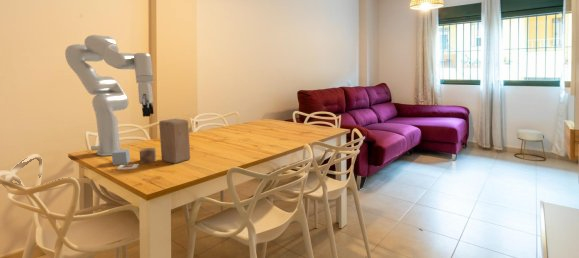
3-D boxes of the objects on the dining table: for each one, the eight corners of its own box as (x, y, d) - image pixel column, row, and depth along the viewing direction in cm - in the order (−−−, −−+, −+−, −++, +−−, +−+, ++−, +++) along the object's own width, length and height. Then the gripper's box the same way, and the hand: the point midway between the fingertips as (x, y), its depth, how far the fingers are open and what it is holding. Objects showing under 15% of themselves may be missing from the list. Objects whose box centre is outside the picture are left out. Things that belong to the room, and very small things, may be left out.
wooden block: (174, 164, 152) (171, 122, 148) (161, 161, 157) (158, 120, 154) (191, 159, 160) (189, 119, 157) (177, 156, 166) (175, 118, 162)
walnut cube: (140, 163, 153) (139, 151, 152) (143, 160, 159) (142, 148, 158) (153, 162, 155) (153, 150, 154) (156, 159, 160) (155, 147, 159)
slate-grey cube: (112, 165, 151) (111, 152, 150) (116, 161, 157) (115, 149, 156) (126, 164, 152) (125, 152, 151) (130, 161, 158) (129, 149, 157)
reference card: (117, 169, 144) (117, 167, 144) (120, 166, 149) (120, 164, 149) (136, 168, 146) (136, 166, 146) (139, 165, 151) (138, 163, 150)
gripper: (139, 79, 161) (143, 113, 164) (132, 80, 144) (136, 117, 147) (155, 79, 163) (159, 112, 166) (150, 79, 146) (154, 116, 149)
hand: (148, 115), depth 156 cm, fingers open, 9 cm apart
